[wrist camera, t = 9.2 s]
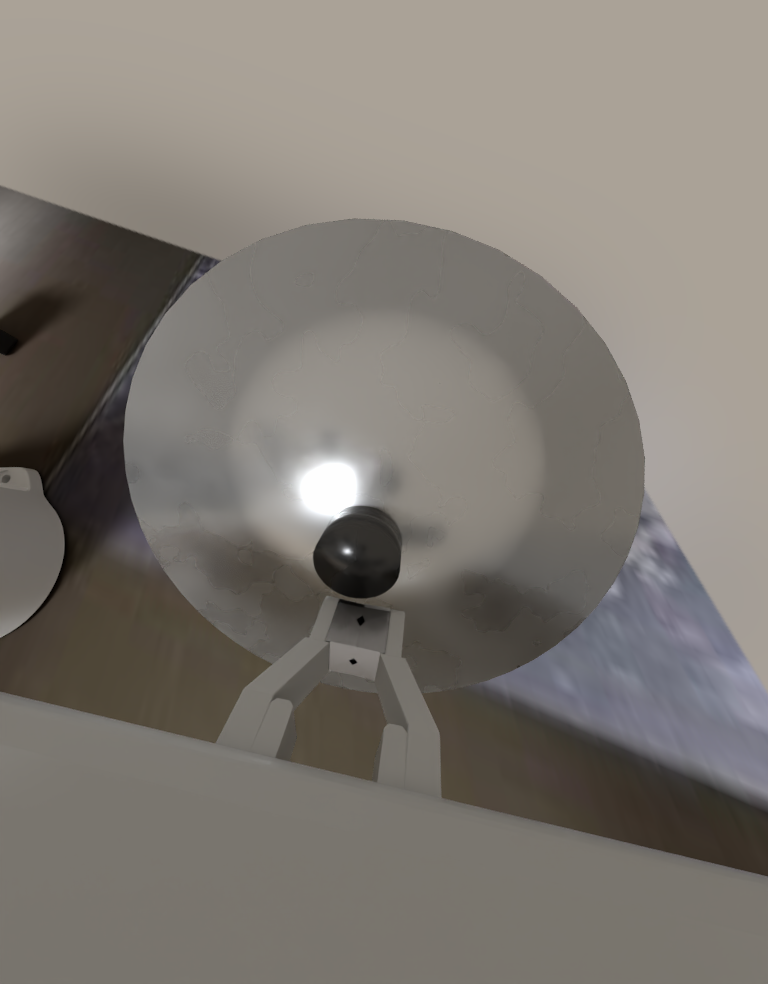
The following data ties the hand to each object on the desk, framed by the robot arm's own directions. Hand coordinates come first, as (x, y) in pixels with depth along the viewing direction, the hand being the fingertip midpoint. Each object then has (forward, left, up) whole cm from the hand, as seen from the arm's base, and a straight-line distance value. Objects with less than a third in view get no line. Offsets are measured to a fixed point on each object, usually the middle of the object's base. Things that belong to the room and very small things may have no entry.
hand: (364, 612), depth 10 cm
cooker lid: (-1, +3, 0) cm, 3 cm away
